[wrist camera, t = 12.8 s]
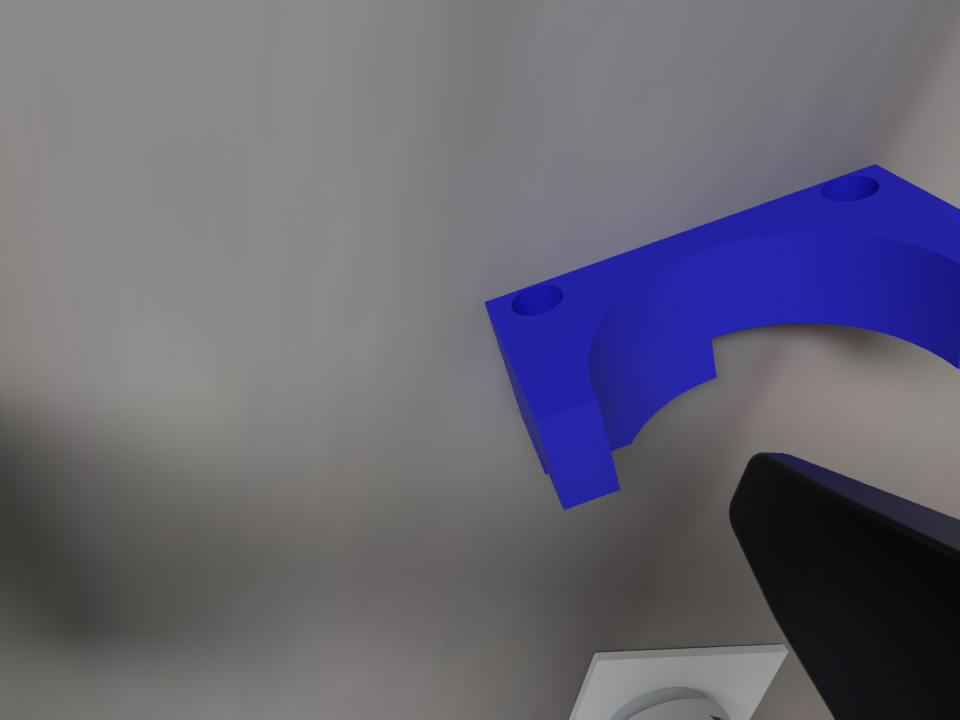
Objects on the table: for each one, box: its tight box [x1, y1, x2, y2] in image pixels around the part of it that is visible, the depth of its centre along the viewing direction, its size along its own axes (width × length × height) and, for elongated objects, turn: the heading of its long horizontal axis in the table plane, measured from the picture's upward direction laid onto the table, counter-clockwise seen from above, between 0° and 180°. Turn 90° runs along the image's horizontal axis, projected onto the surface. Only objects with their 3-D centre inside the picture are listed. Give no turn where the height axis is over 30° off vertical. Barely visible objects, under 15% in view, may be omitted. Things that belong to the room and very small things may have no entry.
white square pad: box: [569, 644, 788, 720], centre depth 36 cm, size 9×9×1 cm
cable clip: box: [485, 164, 960, 510], centre depth 22 cm, size 12×4×6 cm, turn 106°
